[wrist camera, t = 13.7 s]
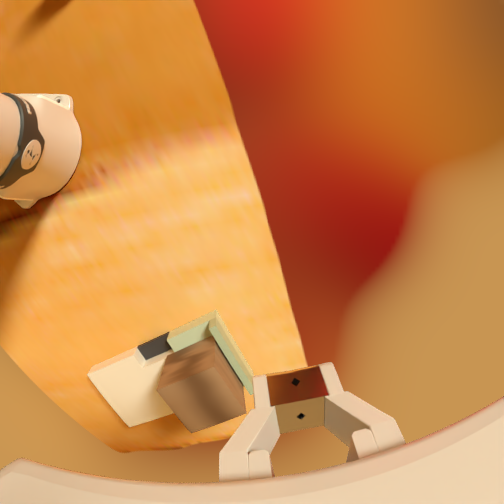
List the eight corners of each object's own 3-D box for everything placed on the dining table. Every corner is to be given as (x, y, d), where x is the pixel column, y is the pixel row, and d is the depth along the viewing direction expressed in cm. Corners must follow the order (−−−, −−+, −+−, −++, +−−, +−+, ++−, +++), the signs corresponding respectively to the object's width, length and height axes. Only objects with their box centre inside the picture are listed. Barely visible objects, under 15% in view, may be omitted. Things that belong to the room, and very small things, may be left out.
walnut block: (195, 395, 43) (191, 433, 34) (167, 355, 41) (156, 390, 32) (241, 376, 43) (246, 413, 34) (215, 333, 41) (214, 366, 33)
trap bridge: (132, 417, 46) (125, 438, 40) (93, 365, 44) (80, 384, 38) (252, 371, 46) (256, 392, 40) (216, 309, 44) (215, 325, 38)
